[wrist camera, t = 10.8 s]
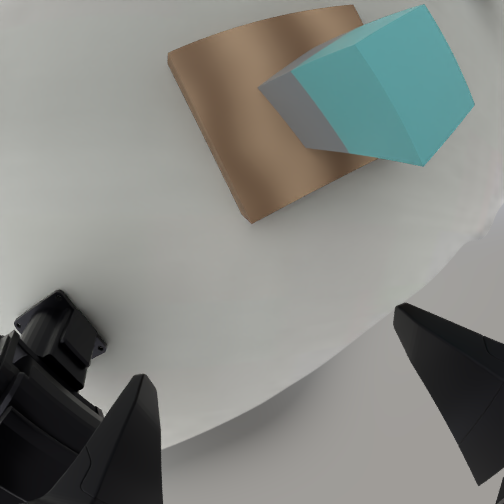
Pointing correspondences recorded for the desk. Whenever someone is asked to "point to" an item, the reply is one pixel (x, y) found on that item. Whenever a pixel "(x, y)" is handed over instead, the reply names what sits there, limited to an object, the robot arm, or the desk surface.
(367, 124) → the teal tall block
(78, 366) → the robot arm
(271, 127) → the walnut stand
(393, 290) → the desk surface
